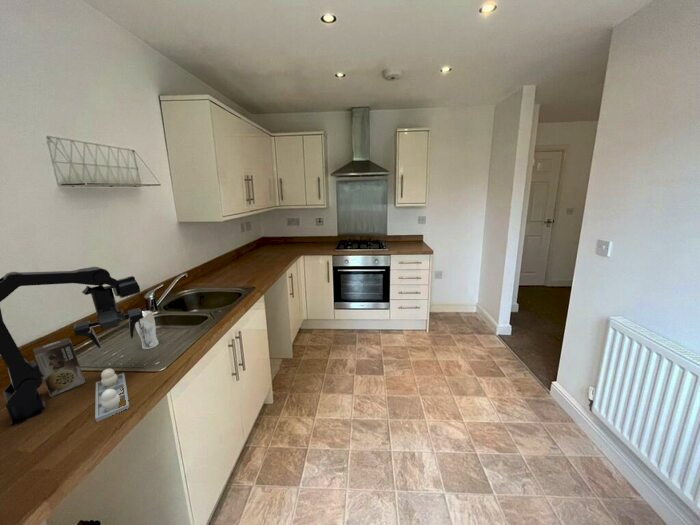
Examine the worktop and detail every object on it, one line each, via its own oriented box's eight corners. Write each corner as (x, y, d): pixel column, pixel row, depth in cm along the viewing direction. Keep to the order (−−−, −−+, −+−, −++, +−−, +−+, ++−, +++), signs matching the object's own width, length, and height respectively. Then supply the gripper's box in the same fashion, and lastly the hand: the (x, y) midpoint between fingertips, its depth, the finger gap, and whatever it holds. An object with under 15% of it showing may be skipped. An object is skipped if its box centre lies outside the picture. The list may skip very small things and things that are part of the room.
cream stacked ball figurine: (103, 392, 97) (98, 375, 95) (103, 385, 100) (98, 369, 98) (119, 385, 99) (115, 369, 98) (119, 380, 103) (114, 364, 101)
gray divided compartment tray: (96, 422, 84) (95, 418, 83) (97, 386, 100) (95, 382, 100) (129, 409, 88) (128, 404, 88) (124, 376, 105) (123, 372, 105)
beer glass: (162, 344, 126) (154, 312, 123) (143, 351, 121) (134, 318, 118) (157, 339, 131) (149, 309, 127) (139, 346, 126) (130, 314, 122)
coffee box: (82, 376, 106) (69, 336, 102) (85, 383, 102) (72, 342, 98) (47, 390, 100) (32, 348, 96) (49, 397, 96) (33, 354, 92)
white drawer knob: (103, 415, 86) (97, 397, 84) (103, 407, 89) (97, 390, 88) (122, 408, 89) (116, 390, 87) (121, 400, 92) (116, 383, 90)
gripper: (66, 317, 89) (80, 362, 93) (139, 300, 101) (149, 341, 105) (69, 308, 98) (82, 349, 102) (136, 293, 109) (146, 330, 113)
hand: (116, 342), depth 105 cm, fingers open, 9 cm apart
